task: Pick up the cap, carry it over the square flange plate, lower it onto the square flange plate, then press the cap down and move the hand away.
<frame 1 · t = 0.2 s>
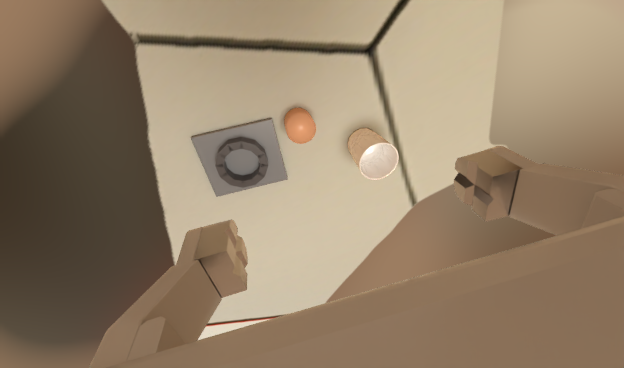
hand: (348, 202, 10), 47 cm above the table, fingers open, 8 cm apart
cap: (297, 121, 57), on the table
white cup: (361, 142, 62), on the table
square flange plate: (242, 158, 59), on the table
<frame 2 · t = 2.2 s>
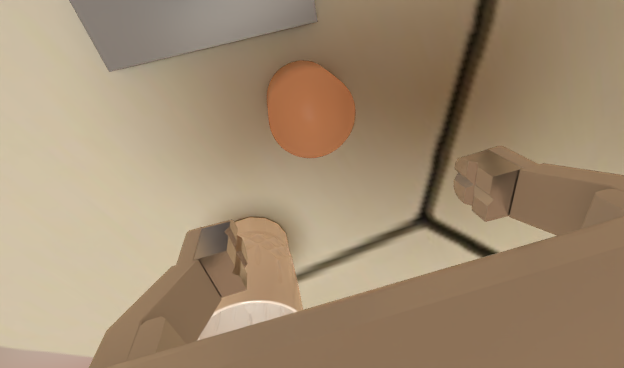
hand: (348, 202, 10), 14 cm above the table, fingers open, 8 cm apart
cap: (302, 98, 22), on the table
white cup: (254, 241, 29), on the table
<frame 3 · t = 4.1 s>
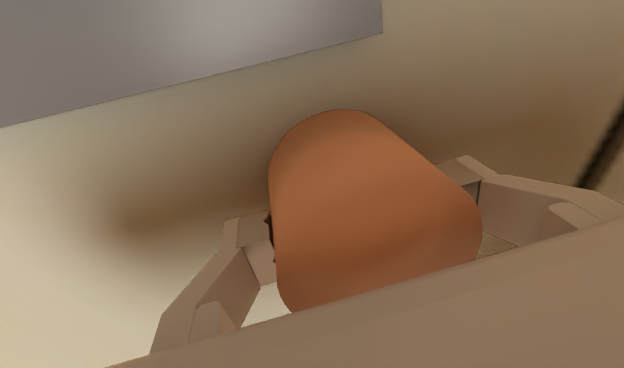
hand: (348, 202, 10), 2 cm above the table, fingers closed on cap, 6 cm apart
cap: (335, 176, 12), on the table, touching gripper
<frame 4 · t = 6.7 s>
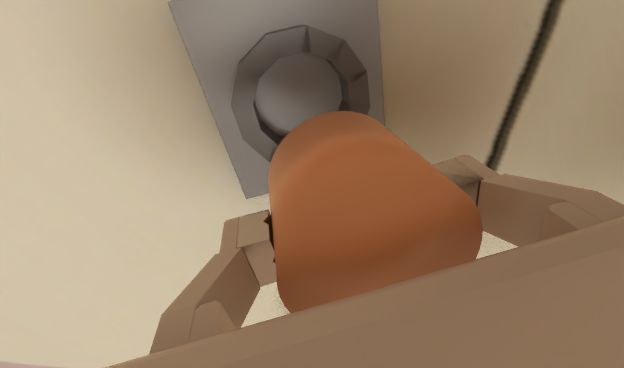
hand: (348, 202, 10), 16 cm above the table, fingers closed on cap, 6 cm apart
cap: (336, 177, 12), point 14 cm above the table, touching gripper
square flange plate: (297, 95, 23), on the table
when the fingers open (4 cm above the table, at t = 9.3 s): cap stays where it is, resting on square flange plate.
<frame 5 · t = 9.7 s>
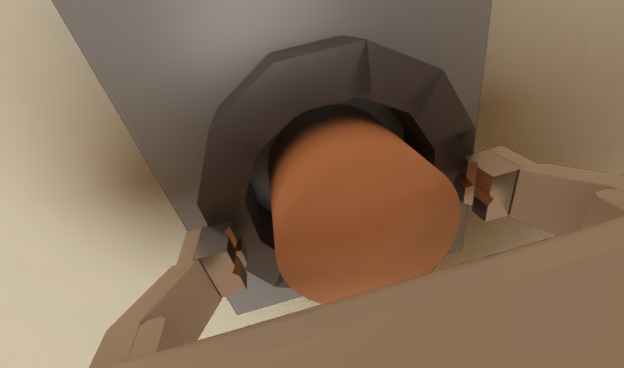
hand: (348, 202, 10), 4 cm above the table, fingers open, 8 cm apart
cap: (331, 167, 12), point 1 cm above the table, touching square flange plate
square flange plate: (324, 157, 13), on the table
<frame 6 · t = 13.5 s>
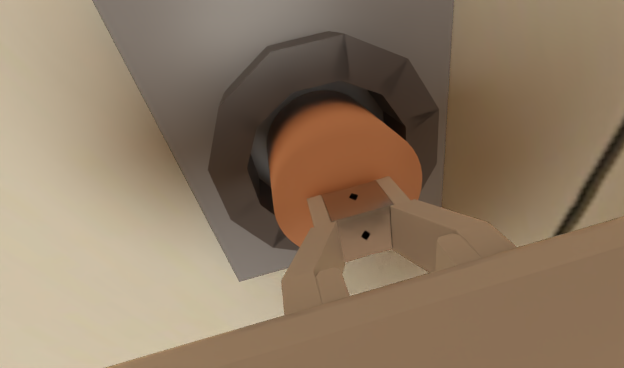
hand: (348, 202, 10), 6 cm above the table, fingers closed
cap: (321, 145, 14), point 1 cm above the table, touching square flange plate
square flange plate: (316, 138, 15), on the table
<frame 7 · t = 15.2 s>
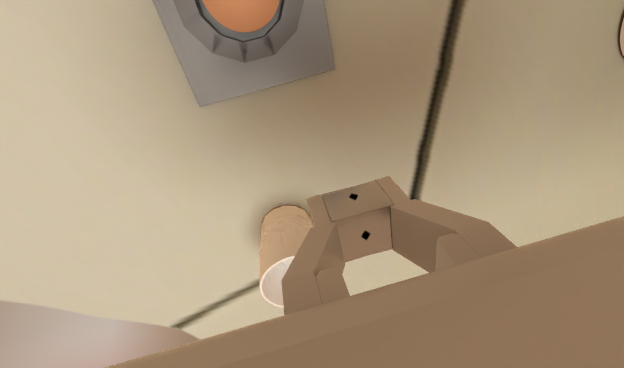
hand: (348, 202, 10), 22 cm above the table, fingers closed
white cup: (286, 224, 38), on the table
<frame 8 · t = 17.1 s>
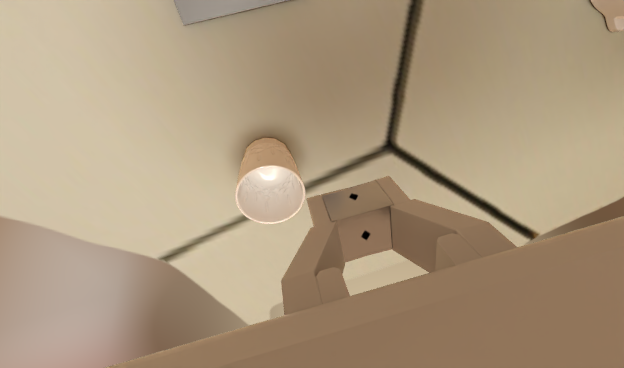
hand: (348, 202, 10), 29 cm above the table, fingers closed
white cup: (267, 158, 40), on the table
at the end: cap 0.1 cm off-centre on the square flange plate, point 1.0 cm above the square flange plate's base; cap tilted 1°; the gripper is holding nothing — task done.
